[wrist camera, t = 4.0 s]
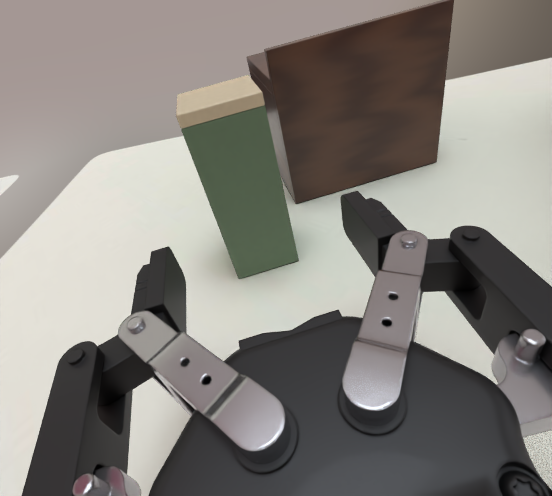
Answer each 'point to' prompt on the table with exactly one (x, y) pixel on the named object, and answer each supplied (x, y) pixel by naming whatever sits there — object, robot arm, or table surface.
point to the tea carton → (239, 172)
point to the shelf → (356, 100)
